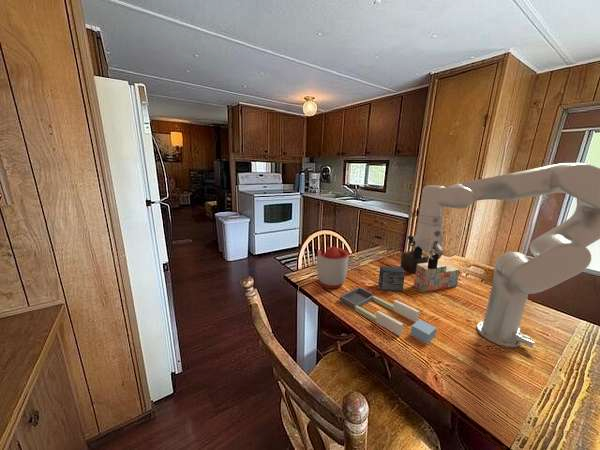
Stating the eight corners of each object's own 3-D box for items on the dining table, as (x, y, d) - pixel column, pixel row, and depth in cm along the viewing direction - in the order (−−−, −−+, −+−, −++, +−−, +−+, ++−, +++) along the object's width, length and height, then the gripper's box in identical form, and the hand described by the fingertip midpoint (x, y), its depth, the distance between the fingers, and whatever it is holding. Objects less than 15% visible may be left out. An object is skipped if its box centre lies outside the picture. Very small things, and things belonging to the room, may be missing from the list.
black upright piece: (427, 271, 139) (432, 241, 135) (412, 274, 136) (417, 243, 131) (407, 261, 153) (411, 234, 149) (393, 263, 150) (397, 235, 145)
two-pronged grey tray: (417, 321, 95) (419, 311, 94) (399, 336, 87) (401, 325, 86) (358, 291, 117) (359, 282, 116) (339, 300, 108) (340, 291, 107)
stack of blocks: (446, 280, 129) (450, 259, 126) (457, 286, 123) (461, 264, 120) (413, 285, 123) (416, 263, 120) (422, 292, 117) (426, 268, 114)
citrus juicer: (329, 272, 136) (330, 238, 131) (353, 285, 122) (356, 247, 117) (307, 280, 126) (308, 244, 121) (331, 294, 113) (333, 254, 108)
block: (435, 337, 87) (436, 327, 86) (427, 344, 83) (428, 334, 82) (418, 328, 91) (420, 319, 90) (410, 334, 88) (411, 325, 87)
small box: (399, 285, 123) (401, 266, 120) (403, 292, 117) (406, 272, 114) (377, 284, 124) (380, 265, 121) (380, 290, 118) (383, 270, 115)
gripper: (456, 225, 80) (448, 272, 84) (426, 214, 97) (420, 254, 101) (435, 225, 79) (428, 273, 84) (408, 214, 96) (403, 255, 100)
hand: (424, 263), depth 92 cm, fingers open, 9 cm apart
